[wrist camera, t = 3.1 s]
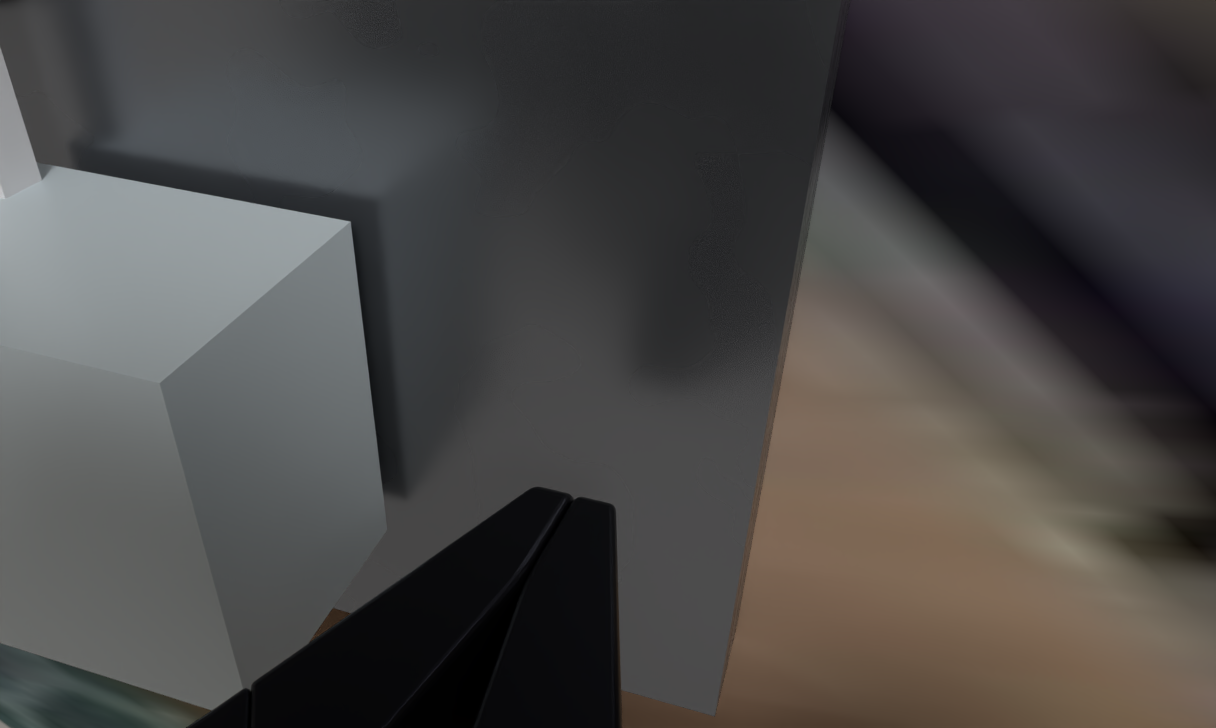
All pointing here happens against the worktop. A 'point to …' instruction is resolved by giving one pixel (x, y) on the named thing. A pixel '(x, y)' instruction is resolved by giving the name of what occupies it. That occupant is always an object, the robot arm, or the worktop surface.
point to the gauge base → (507, 243)
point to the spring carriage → (175, 426)
